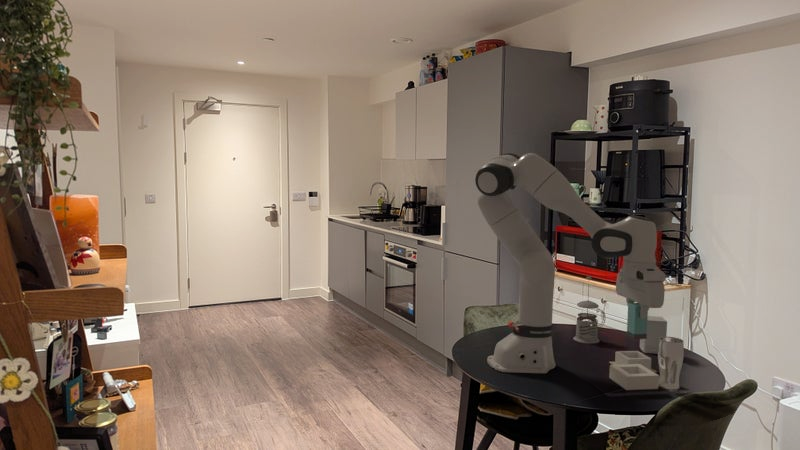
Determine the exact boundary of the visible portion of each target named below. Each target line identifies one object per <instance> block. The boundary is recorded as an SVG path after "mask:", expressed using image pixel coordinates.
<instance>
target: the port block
mask: <svg viewBox="0 0 800 450" xmlns="http://www.w3.org/2000/svg"><path fill="white" fill-rule="evenodd" d="M659 376H660V374H657V372H652V371H651V370H649V369H647V368H646V367H644V366H642V365H641V364H625V365H612V364H610V365H609V376H608V378H609V379H610V380H611V381H612V382H614V383H615V384H616V385H618V386H620V387H621V388H622V389H623V390H625V394H638V393H643V394H644V393H658V392H659V391H658V390H659V385H658V383H659Z"/></svg>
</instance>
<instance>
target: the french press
mask: <svg viewBox="0 0 800 450" xmlns="http://www.w3.org/2000/svg"><path fill="white" fill-rule="evenodd" d="M586 280H588V281H590V280H592V276H586ZM587 290H588V291H587V298H589V297H590V295H589V293H590V285H588V289H587ZM576 305H577V307H579V308H583V309H587V311H586V312H579V313H577V317H576V323H575V324H576V326H575V336H574V337H573V340H574V341H576V342H578V343H581V344H582V343H583V344H598V343H600V339H599V338H598V334H599V331H598V330H599V329H600V328H601V327H603V326H604V325H605V322H606V319H605V317H606V314H605V312H604V311H603V310H602V309H600V308H599V304H597V303H596V302H594V301H592V300H589V299H587V300H583V301H580V302H579V301H578V303H576ZM590 309H591V310H592V309H594V310H595V309H596V310H597V311H596V313H599V311H600V312H601V314H602V319H603V320H602V321H601V323H600V324H598V323H599V322H598V321H599V320H598V319H597V317H598V315H596V314H594V313H589V310H590Z"/></svg>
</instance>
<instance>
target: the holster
mask: <svg viewBox="0 0 800 450" xmlns="http://www.w3.org/2000/svg"><path fill="white" fill-rule="evenodd" d="M614 354H615V355H614V356H615V359H614V361H608V363H610V365H625V364H641V365H642V366H644V367H646V368H647V369H649V370H651V371H652V372H654V373H658V371H657V370H656V369H653V368H652V358H651V357H650V356H648V355H646V354H644V353H643V352H640V351H639V350H625V351H624V350H622V351H615V353H614Z"/></svg>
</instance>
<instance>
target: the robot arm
mask: <svg viewBox="0 0 800 450" xmlns="http://www.w3.org/2000/svg"><path fill="white" fill-rule="evenodd" d="M475 186H476V188H477V190H478V191H479V192H480V194H479V196H478V198H477V204H478V208H479V209H480V212H481V214H482V216H483V218H484V219H485V221H486V223H487V225H489V227H490V228H491V231H492V232H493V233H494V234H495V236H496V237H497V239H498V240H499V242H500V243H501V245H502V247H504V248H505V250H506V251H507V252H508V254H509V255H510V256H511V257H512V259H513V260H514V261H515V262H516V264H517V265H518V267H519V278H518V279H519V281H518V282H519V285H518V287H519V288H518V291H519V292H518V315H517V316H518V317H517V318H518V319H517V321H516V322H513V321H512V320H510V321H508V322H507V326H508V327H509V328H510V329H512V330H511V331H512V332H510V334H508V335H506V336H505V337H504V338H502V339H501V340H499V341H498V342H497V343H496V345H495V346H494V347H495V348H494V351H493V352H494V353H493V354H492V355H489V356H487V360H486V362H487V364H488V365H489V366H490V367H491V368H492V369H493V368H494V370H495V371H497V370H498V372H500V371H501V372H500V373H521V374H525V373H526V374H528V373H529V374H547V373H548V372H549V371H550V370H553V369H554V368H555V367H556V365H557V364H556V362H555V358H554V351H553V340H554V338H553V337H554V323H553V313H554V312H553V309H554V308H553V307H554V293H555V292H554V291H555V290H554V289H555V278H556V265H555V262H554V257H553V256H552V254H551V252H550V251H549V250H548V248H547V247H546V245H545V244H544V243H543V241H542V240H541V239H540V237H539V236H538V234H537V233H536V231H535V230H534V229H533V227H532V226H531V225H530V223H529V222H528V221H527V219H526V218H525V216H524V215H523V214H522V212H521V211H520V209H519V208H518V206H517V205H516V204H515V202H514V200H513V199H512V196H511V190H514V189H515V188H516V187H517V186H519V187H521V188H523V189H524V190H526V191H527V192H528V194H530V195H531V196H532V197H533V198H534V199H535V200H536V201H537V202H539V203H540V204H542V205H543V206H544V207H546V208H548V209H549V210H552V211H555V212H559V213H562V214H565V215H566V216H568V217H569V218H571V219H572V220H573V221H574V222H575V223H576V224H577V225H578V226H580V227H581V229H583V230H584V231H585V232H586V233H587V234H588V235H589V236H590V238H591V247H592V250H593V252H594V253H595V254H596V255H597V256H599V257H601V258H603V259H614V258H620V257H623V265H622V266H621V268H620V269H619V272H618V273H617V275H616V283H615V292H616V294H617V295H618V296H620V297H623V298H625V299H626V305H627V306H628V303H640V307H641V310H640V312H638V317H639V318H641V319H646V317H647V312H648V313H649V310H650V309H660V308H663V306H664V303H665V283H664V282H665V281H666V278H667V277H666V273H665V272H664V271H662V270H661V269H660V268H659V267H658V266H657V265H656V263H657V260H656V254H655V253H656V250H657V246H658V245H657V242H658V241H657V239H658V235H657V226H656V223H655V222H654V221H653V220H652V219H651V218H648V217H644V216H640V215H628V216H627V217H625V218H624V219H622V220H620V221H618V222H616V223H613V222H610V221H608V220H606V219H603V217H601V216H600V215H599V214H598V213H597V212H595V211H594V210H593V209H592V208H591V207H590V206H589V205H588V204H586V203H585V202H584V201H583V199H582V198H581V197H580V196H579V194H578V192H577V191H576V190H575V188H574V187H573V185H572V184H571V182H570V181H569V180H568V179H567V177H565V175H564V174H562V172H561V171H560V170H558V169H557V167H555V166H554V165H553V164H551V163H550V162H549V161H548V160H546V159H544V158H543V157H541V156H540V155H538V154H536V153H534V152H528V153H525V154H523V155H522V156H519V155H518V154H515V153H511V152H508V153H503V154H501V155H499V156H496V157H494V158H492V159H491V160H490V161H488V162H487V163H486V164H483V165H482V166H481V167H480V168H479V169H478V171H477V173H476V174H475Z"/></svg>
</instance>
